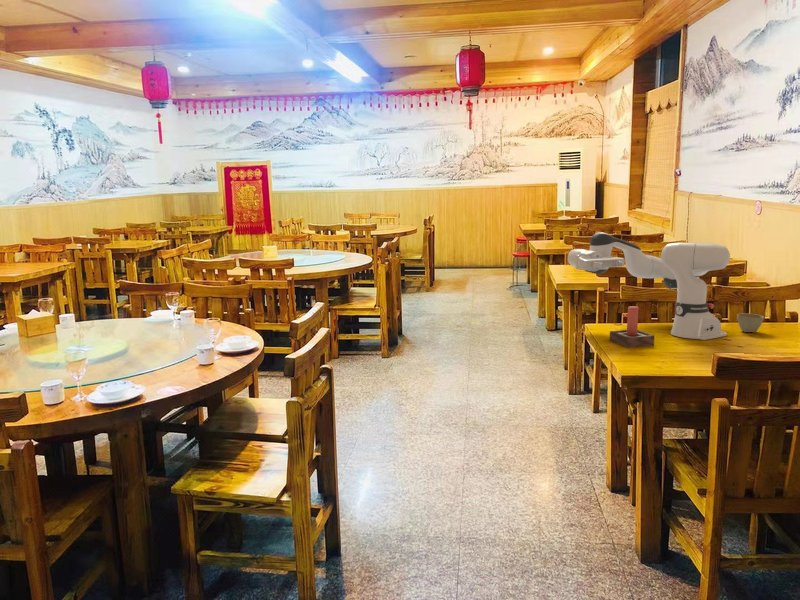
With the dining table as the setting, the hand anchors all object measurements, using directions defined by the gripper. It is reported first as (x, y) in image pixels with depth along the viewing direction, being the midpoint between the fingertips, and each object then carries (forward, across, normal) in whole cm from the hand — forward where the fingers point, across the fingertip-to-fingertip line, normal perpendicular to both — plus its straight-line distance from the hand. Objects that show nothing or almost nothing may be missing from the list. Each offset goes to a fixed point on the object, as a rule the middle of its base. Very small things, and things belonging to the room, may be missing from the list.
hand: (612, 264), depth 263 cm
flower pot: (+16, -59, -30) cm, 68 cm away
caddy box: (+15, 0, -30) cm, 34 cm away
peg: (+15, 0, -29) cm, 33 cm away
